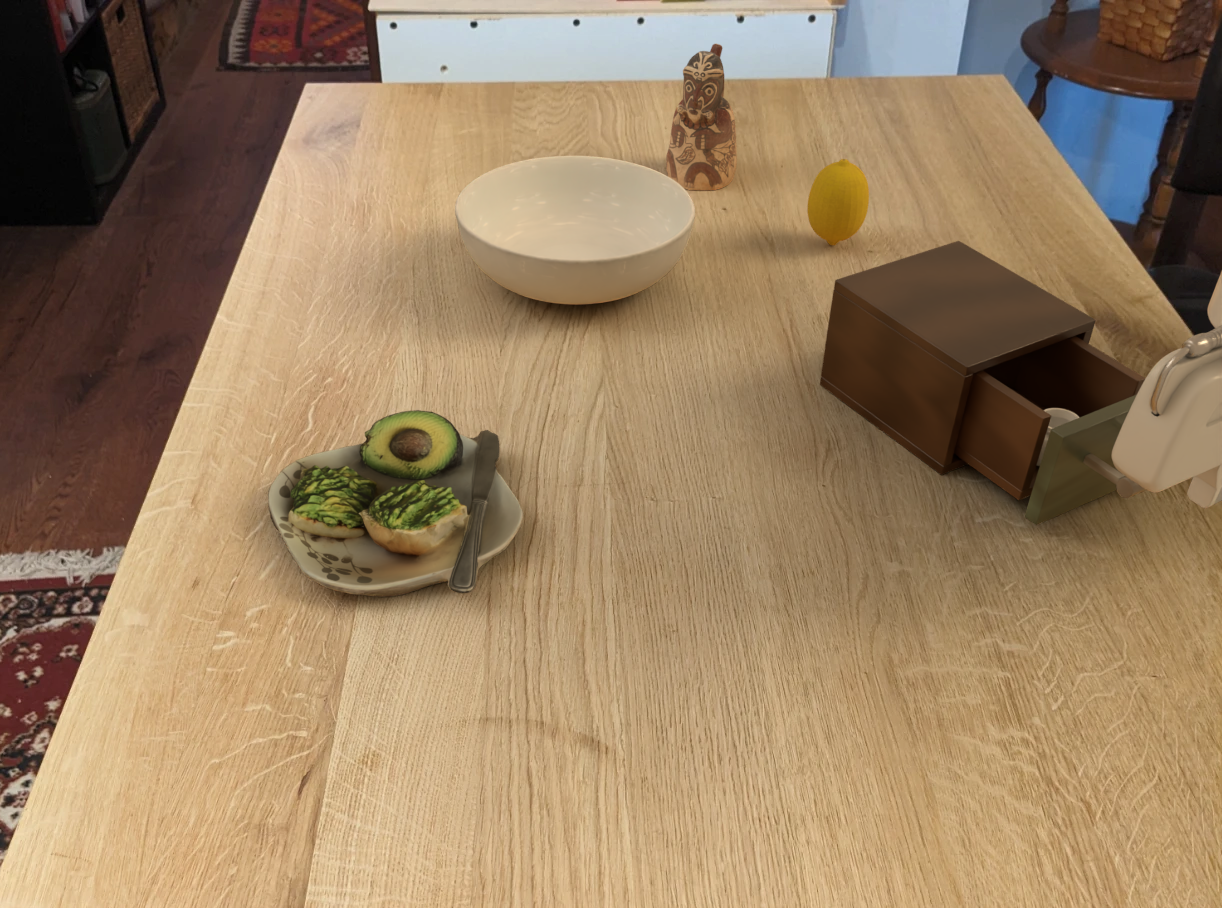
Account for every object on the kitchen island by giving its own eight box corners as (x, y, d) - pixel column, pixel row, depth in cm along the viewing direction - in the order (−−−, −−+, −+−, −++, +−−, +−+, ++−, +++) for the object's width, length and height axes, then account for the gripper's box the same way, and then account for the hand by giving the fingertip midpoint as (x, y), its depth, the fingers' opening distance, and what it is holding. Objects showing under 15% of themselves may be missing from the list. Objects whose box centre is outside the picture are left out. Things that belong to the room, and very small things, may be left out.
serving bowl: (652, 353, 107) (655, 276, 102) (423, 312, 111) (416, 236, 106) (717, 244, 120) (722, 171, 115) (510, 212, 125) (507, 140, 120)
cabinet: (1063, 426, 100) (1096, 319, 93) (941, 475, 95) (967, 366, 88) (936, 343, 108) (958, 240, 102) (819, 384, 104) (834, 279, 97)
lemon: (845, 227, 123) (858, 143, 117) (871, 253, 119) (886, 168, 114) (793, 236, 122) (803, 151, 116) (817, 262, 118) (829, 176, 112)
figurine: (652, 179, 130) (656, 53, 122) (689, 155, 134) (695, 32, 126) (712, 196, 128) (721, 69, 119) (747, 172, 132) (758, 47, 123)
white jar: (1098, 455, 93) (1039, 426, 96) (1109, 420, 91) (1050, 392, 94) (1059, 482, 91) (1000, 452, 94) (1070, 447, 89) (1010, 418, 91)
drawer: (1198, 508, 91) (1235, 420, 86) (1083, 560, 87) (1115, 471, 81) (1017, 390, 101) (1041, 305, 96) (908, 432, 97) (926, 346, 92)
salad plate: (580, 580, 87) (580, 525, 83) (323, 651, 82) (312, 596, 78) (483, 431, 99) (479, 378, 95) (255, 485, 94) (242, 432, 91)
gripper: (1219, 373, 67) (1136, 576, 77) (1455, 278, 74) (1351, 474, 84) (1127, 321, 71) (1059, 521, 81) (1361, 235, 78) (1272, 428, 88)
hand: (1211, 497), depth 83 cm, fingers closed
